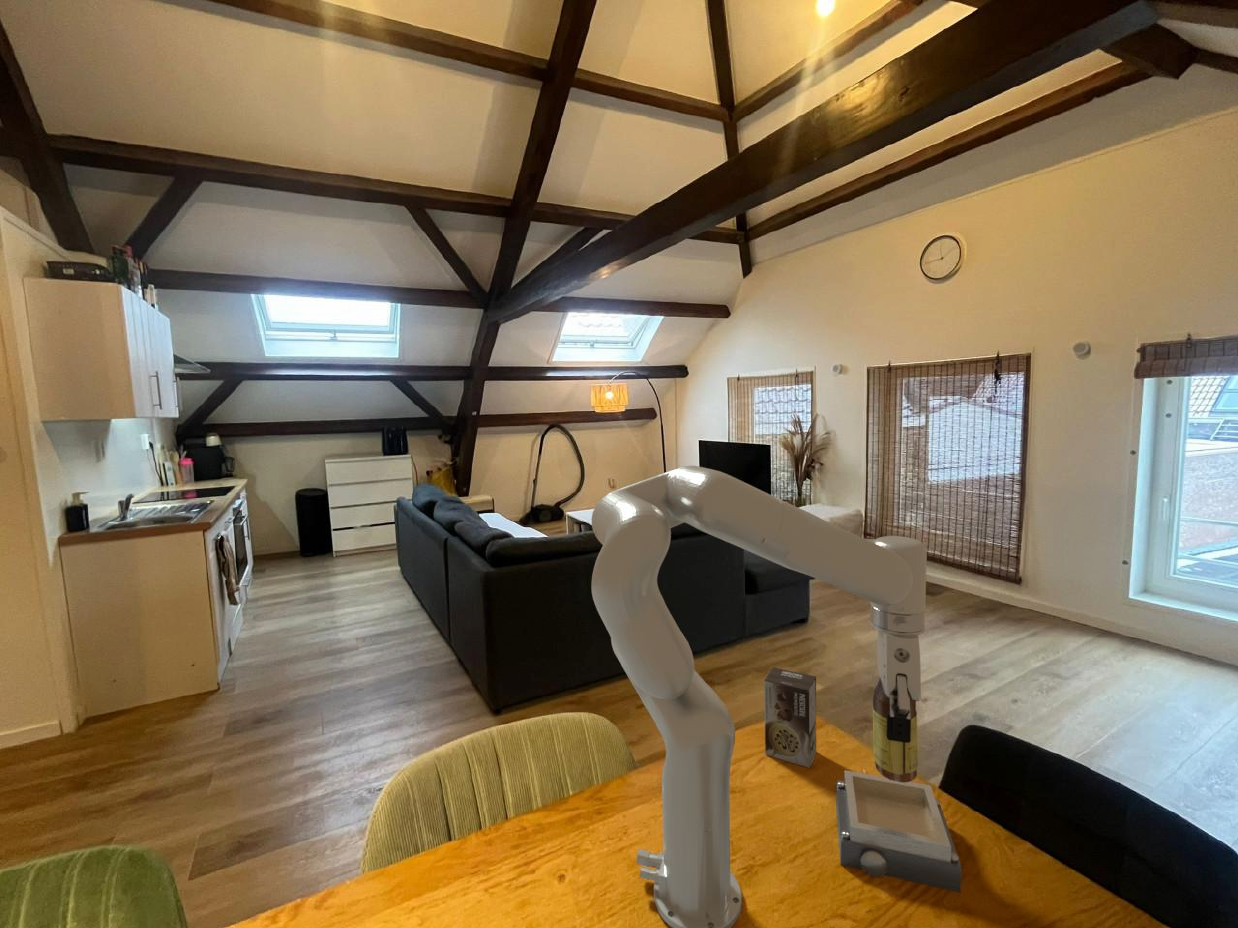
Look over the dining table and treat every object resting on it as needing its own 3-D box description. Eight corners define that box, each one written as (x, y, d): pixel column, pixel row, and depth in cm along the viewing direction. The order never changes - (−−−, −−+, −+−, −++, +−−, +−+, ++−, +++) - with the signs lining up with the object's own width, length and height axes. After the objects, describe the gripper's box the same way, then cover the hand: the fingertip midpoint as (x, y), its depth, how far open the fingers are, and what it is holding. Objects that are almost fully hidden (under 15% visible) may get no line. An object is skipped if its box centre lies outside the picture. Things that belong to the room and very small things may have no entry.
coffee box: (817, 751, 110) (817, 676, 109) (809, 769, 105) (810, 690, 103) (772, 737, 115) (772, 665, 113) (763, 754, 110) (763, 679, 108)
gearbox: (841, 870, 82) (841, 830, 81) (835, 801, 96) (836, 767, 95) (962, 898, 77) (964, 856, 76) (937, 821, 91) (939, 785, 90)
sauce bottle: (907, 759, 88) (909, 643, 86) (924, 786, 82) (928, 661, 80) (865, 758, 89) (867, 642, 87) (880, 784, 83) (882, 660, 81)
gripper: (937, 643, 74) (934, 766, 75) (913, 600, 90) (911, 702, 92) (877, 637, 76) (875, 756, 78) (864, 596, 92) (863, 695, 94)
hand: (894, 726), depth 85 cm, fingers closed on sauce bottle, 6 cm apart
